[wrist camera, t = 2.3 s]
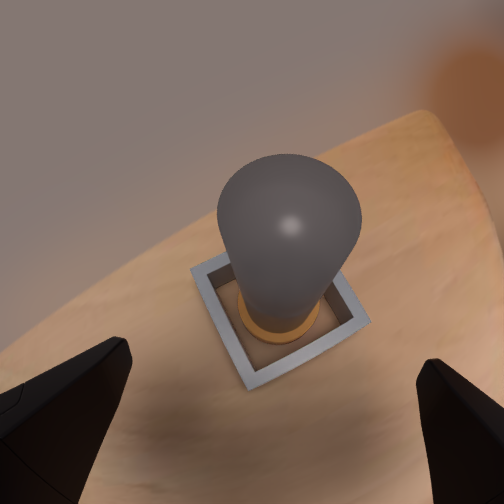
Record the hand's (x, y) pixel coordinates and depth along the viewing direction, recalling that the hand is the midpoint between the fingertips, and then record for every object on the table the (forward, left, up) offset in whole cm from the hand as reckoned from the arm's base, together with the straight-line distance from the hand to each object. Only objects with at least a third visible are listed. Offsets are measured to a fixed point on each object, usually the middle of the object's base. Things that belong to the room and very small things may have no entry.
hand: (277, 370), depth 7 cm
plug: (+2, +4, -11) cm, 12 cm away
